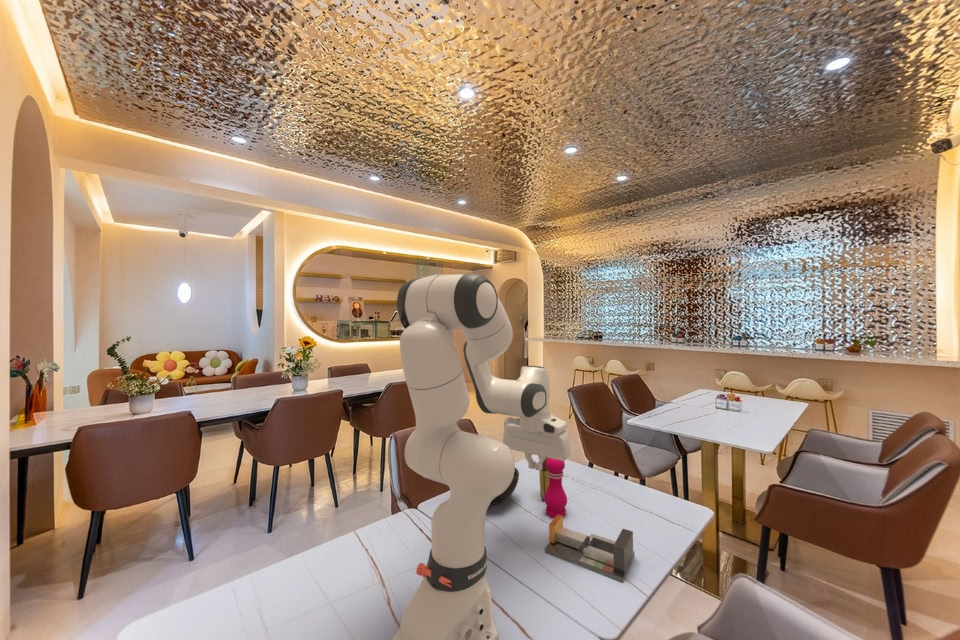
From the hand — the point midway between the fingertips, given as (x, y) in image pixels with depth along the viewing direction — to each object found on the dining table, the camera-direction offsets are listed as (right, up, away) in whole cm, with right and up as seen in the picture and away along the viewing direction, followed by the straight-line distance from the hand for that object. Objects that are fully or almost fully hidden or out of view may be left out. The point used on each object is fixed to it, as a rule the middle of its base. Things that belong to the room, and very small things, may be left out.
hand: (535, 468), depth 106 cm
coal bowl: (-13, -20, +20) cm, 31 cm away
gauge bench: (+12, -19, -9) cm, 24 cm away
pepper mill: (+8, -19, +11) cm, 24 cm away
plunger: (+8, -18, -7) cm, 21 cm away
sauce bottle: (+8, -19, +21) cm, 30 cm away
